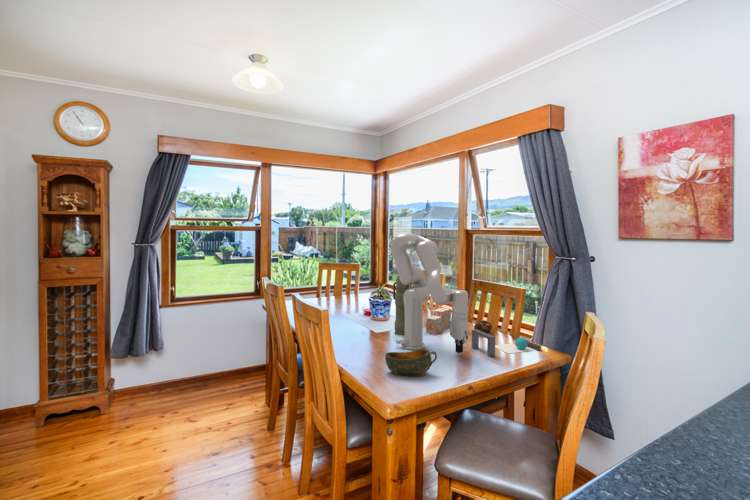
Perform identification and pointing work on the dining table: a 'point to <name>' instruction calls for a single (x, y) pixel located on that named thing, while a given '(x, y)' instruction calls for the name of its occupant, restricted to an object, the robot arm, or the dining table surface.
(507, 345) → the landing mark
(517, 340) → the ball
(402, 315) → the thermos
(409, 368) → the cup
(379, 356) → the dining table surface
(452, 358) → the dining table surface
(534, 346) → the stopper wall
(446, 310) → the stack of blocks
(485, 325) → the decorative turtle
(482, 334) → the bridge
